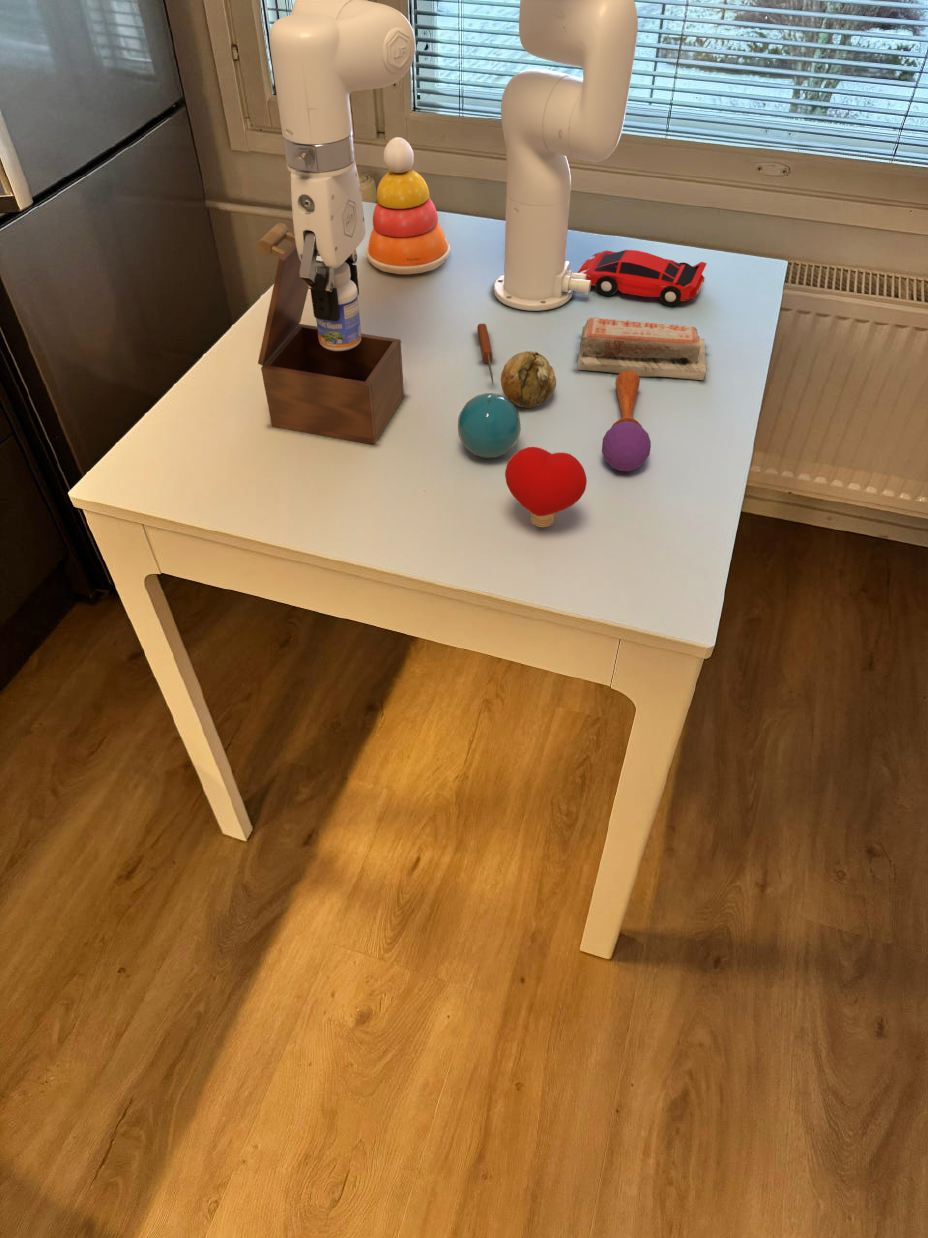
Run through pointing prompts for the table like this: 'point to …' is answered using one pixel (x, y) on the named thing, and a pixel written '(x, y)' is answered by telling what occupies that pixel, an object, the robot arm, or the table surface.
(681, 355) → the packaged product
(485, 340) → the brown screwdriver
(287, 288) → the lid
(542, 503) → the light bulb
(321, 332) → the pill bottle
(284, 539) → the table surface
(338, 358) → the chest
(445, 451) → the table surface
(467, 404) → the ball
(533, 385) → the cracked brown sphere
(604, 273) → the toy car
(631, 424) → the purple maraca
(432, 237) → the stacking toy
